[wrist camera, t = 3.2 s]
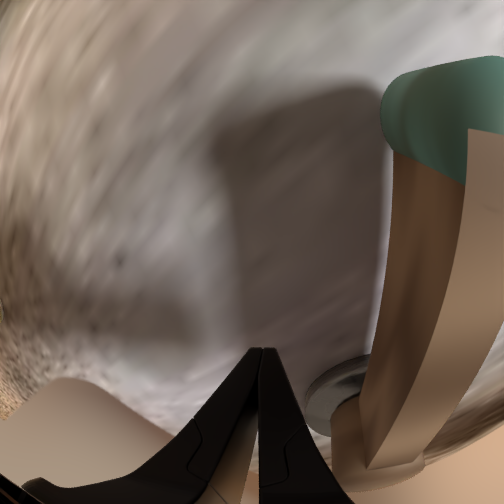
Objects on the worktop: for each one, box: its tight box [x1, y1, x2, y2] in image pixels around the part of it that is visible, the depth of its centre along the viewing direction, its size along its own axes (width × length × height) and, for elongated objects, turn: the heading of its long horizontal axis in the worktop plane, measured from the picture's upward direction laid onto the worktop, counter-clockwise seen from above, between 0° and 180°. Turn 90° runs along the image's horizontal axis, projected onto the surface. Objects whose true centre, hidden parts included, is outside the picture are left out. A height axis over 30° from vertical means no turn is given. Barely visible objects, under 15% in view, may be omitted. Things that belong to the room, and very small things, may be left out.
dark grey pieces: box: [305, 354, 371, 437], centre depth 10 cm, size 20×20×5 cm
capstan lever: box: [330, 56, 504, 492], centre depth 9 cm, size 20×5×4 cm, turn 6°
